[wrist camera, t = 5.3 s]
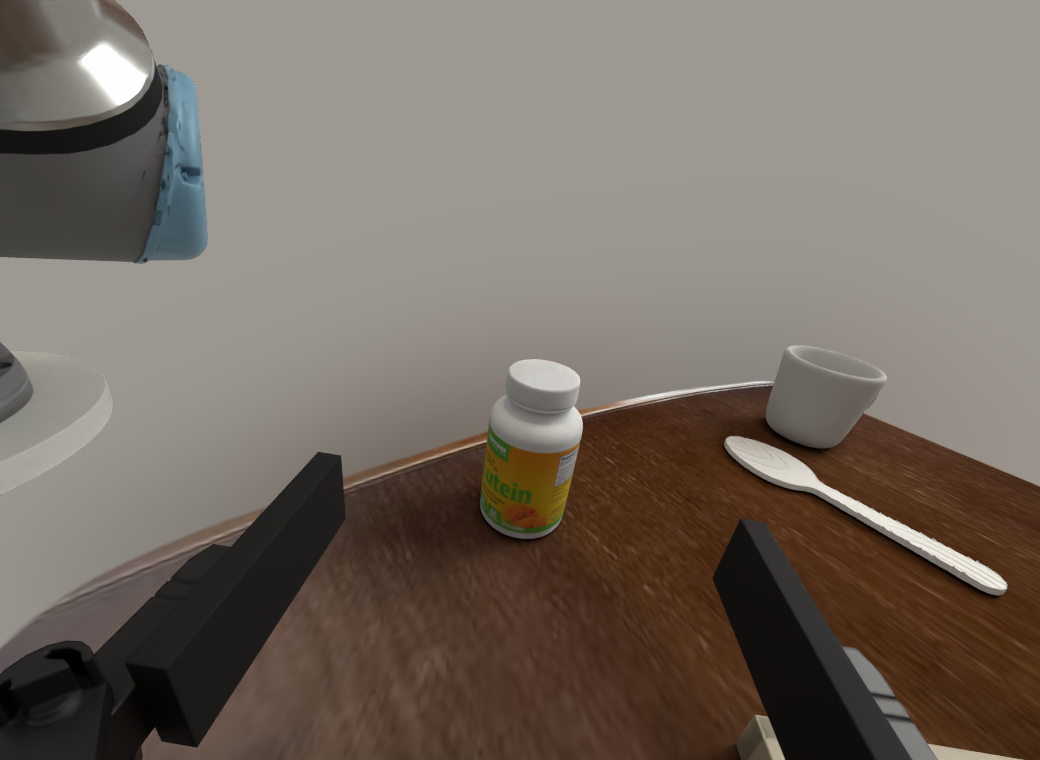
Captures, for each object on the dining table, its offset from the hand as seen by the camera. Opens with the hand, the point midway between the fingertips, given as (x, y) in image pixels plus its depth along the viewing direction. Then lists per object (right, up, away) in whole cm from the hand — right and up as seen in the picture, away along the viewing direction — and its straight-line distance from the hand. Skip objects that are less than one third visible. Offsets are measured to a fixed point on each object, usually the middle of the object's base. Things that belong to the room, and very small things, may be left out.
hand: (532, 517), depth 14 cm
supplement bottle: (0, -4, +13) cm, 13 cm away
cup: (+29, -1, +28) cm, 40 cm away
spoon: (+24, -5, +18) cm, 30 cm away
